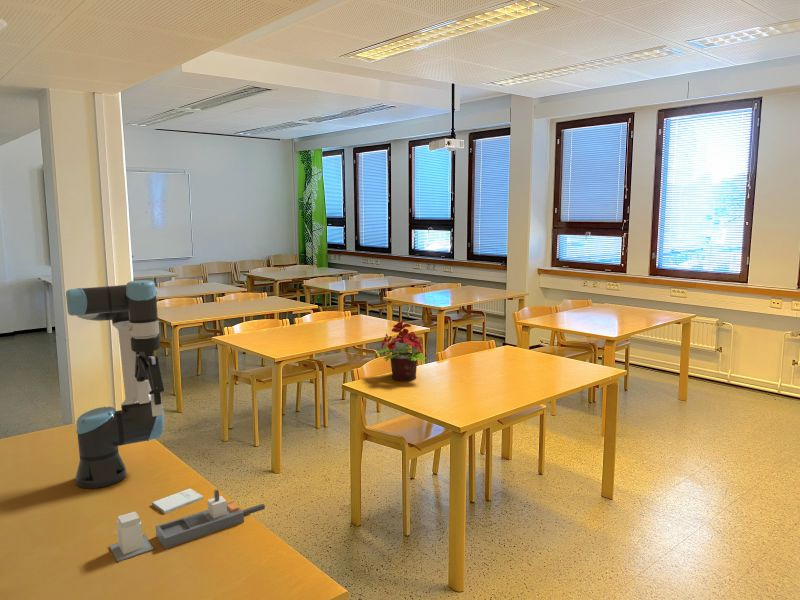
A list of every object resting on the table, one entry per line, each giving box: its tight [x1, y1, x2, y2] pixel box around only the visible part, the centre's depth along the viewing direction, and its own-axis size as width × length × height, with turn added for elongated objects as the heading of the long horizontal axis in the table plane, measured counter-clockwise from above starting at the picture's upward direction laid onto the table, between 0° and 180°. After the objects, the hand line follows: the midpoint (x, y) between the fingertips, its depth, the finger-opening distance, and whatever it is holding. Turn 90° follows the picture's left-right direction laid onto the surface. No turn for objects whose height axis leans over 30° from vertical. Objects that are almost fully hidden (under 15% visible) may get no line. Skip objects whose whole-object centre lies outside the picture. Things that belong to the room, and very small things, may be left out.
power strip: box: [155, 489, 266, 550], centre depth 172 cm, size 30×8×10 cm, turn 127°
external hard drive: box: [151, 487, 204, 515], centre depth 187 cm, size 2×8×12 cm
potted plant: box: [373, 321, 428, 382], centre depth 313 cm, size 30×27×30 cm
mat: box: [108, 534, 155, 563], centre depth 162 cm, size 9×9×1 cm
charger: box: [116, 511, 144, 554], centre depth 161 cm, size 5×5×8 cm
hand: (150, 408), depth 173 cm, fingers open, 13 cm apart
